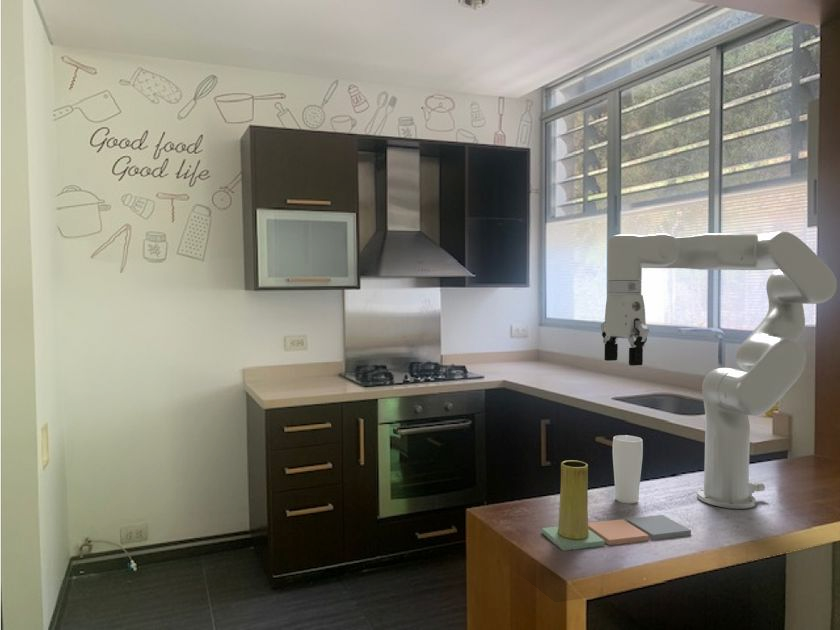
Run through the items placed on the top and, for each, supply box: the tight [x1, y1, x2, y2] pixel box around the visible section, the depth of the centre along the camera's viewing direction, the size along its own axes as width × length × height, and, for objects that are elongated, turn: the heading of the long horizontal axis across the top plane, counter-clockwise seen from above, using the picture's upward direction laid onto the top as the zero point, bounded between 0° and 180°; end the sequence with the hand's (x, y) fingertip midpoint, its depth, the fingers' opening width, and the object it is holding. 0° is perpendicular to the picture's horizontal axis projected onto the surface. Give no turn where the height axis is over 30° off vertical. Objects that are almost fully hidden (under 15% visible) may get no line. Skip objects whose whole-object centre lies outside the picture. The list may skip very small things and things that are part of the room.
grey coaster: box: [626, 514, 692, 540], centre depth 130 cm, size 9×9×1 cm
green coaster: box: [541, 525, 606, 551], centre depth 124 cm, size 9×9×1 cm
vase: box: [557, 459, 589, 540], centre depth 124 cm, size 6×6×14 cm
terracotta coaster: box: [588, 518, 650, 546], centre depth 127 cm, size 9×9×1 cm
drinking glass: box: [612, 434, 644, 505], centre depth 147 cm, size 7×7×15 cm
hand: (622, 362), depth 143 cm, fingers open, 9 cm apart
